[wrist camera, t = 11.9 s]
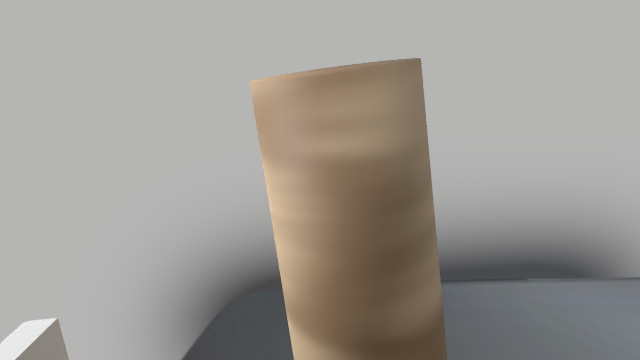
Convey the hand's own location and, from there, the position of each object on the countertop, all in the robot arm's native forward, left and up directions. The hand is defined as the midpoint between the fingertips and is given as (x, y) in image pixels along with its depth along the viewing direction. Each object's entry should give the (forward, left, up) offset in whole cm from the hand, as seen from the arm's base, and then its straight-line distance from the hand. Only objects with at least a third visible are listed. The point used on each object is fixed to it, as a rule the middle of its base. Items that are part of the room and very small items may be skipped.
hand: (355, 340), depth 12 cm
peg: (0, -4, -10) cm, 11 cm away
